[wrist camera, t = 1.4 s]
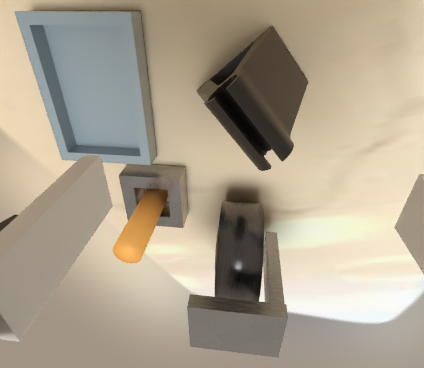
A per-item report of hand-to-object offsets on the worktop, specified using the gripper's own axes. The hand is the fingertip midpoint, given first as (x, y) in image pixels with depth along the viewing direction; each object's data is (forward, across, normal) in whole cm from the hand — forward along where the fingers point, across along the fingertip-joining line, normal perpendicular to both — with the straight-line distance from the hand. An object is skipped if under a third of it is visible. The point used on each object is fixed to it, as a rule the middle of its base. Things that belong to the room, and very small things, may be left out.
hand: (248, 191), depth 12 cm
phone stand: (+19, 0, 0) cm, 19 cm away
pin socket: (+18, -10, -13) cm, 25 cm away
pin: (+18, -10, -13) cm, 25 cm away
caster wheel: (+18, 0, -17) cm, 25 cm away
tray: (+18, -16, -1) cm, 24 cm away
